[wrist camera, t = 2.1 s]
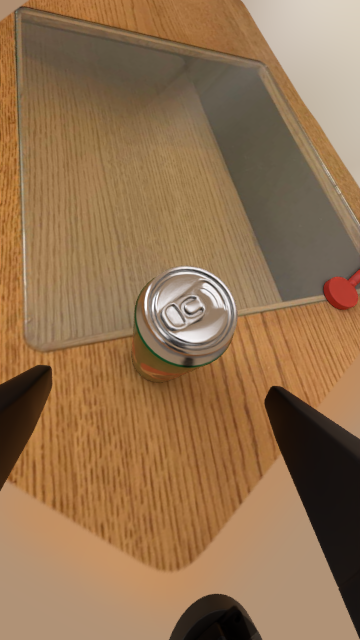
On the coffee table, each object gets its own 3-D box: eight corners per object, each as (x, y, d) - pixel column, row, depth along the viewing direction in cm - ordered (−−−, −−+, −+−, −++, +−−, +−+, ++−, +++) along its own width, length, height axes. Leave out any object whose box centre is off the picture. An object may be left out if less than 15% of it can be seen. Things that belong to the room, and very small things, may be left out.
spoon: (341, 316, 27) (349, 312, 26) (317, 289, 28) (325, 285, 27) (387, 268, 33) (396, 263, 32) (366, 246, 33) (374, 241, 32)
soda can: (193, 364, 21) (266, 327, 10) (149, 394, 19) (177, 389, 8) (166, 321, 22) (205, 244, 11) (121, 346, 20) (112, 283, 9)
